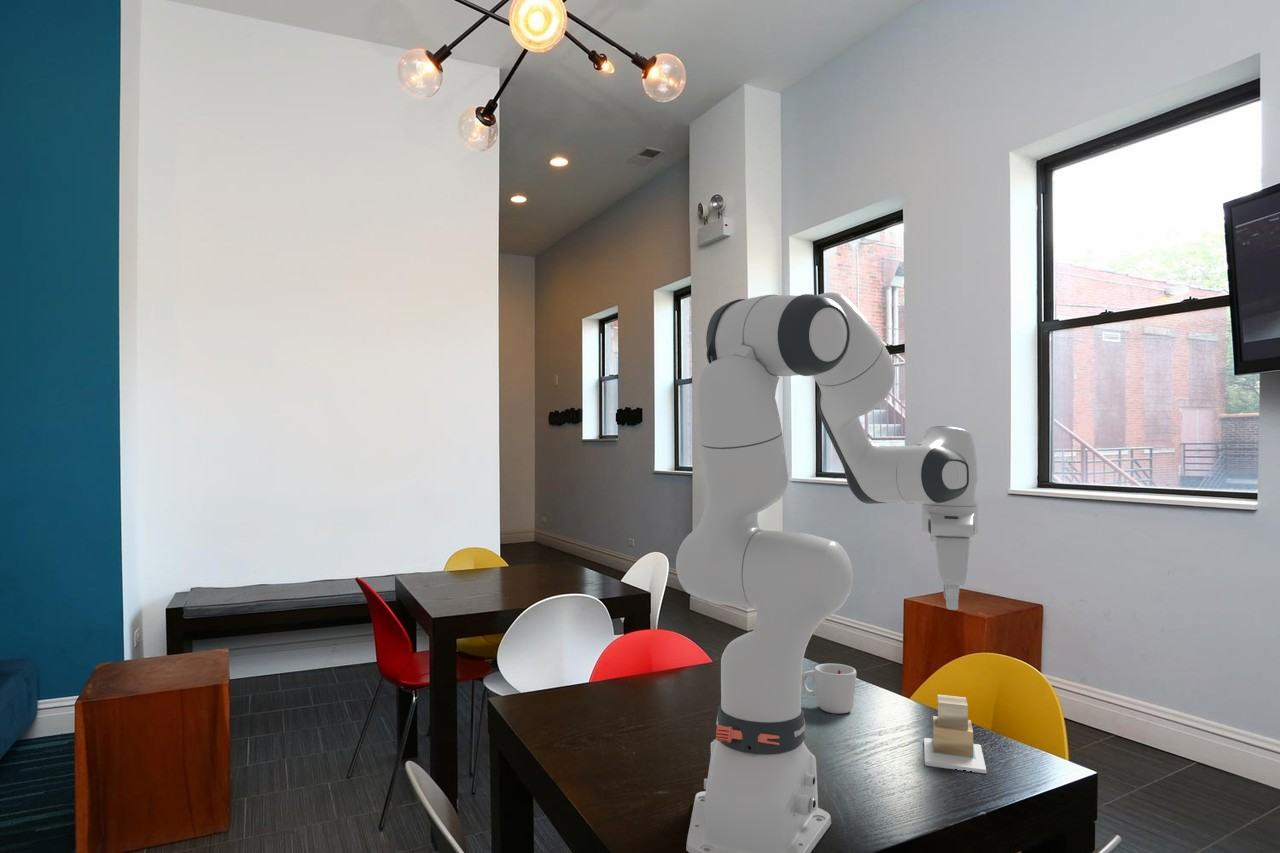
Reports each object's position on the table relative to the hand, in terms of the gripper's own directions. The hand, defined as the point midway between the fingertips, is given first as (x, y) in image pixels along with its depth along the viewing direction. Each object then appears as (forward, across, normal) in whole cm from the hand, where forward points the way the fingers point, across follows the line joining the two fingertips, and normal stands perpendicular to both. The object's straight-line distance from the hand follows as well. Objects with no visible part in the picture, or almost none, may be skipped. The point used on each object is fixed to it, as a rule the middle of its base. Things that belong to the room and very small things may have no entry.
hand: (950, 604), depth 126 cm
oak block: (+24, 0, 0) cm, 24 cm away
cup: (+25, -15, -22) cm, 36 cm away
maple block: (+20, 0, 0) cm, 20 cm away
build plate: (+25, +2, 0) cm, 25 cm away
